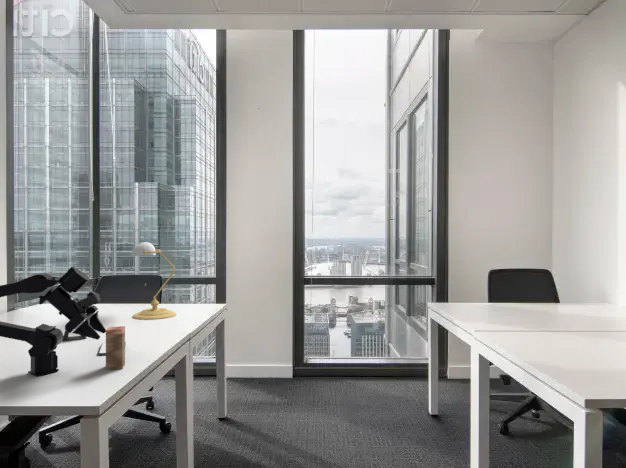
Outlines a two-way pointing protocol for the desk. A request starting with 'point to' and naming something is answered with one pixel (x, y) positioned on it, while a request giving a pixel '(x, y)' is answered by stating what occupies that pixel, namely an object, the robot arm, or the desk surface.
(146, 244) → the desk lamp
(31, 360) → the robot arm
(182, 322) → the desk surface
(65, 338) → the phone stand
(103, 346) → the phone case
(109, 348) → the wooden block
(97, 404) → the desk surface
